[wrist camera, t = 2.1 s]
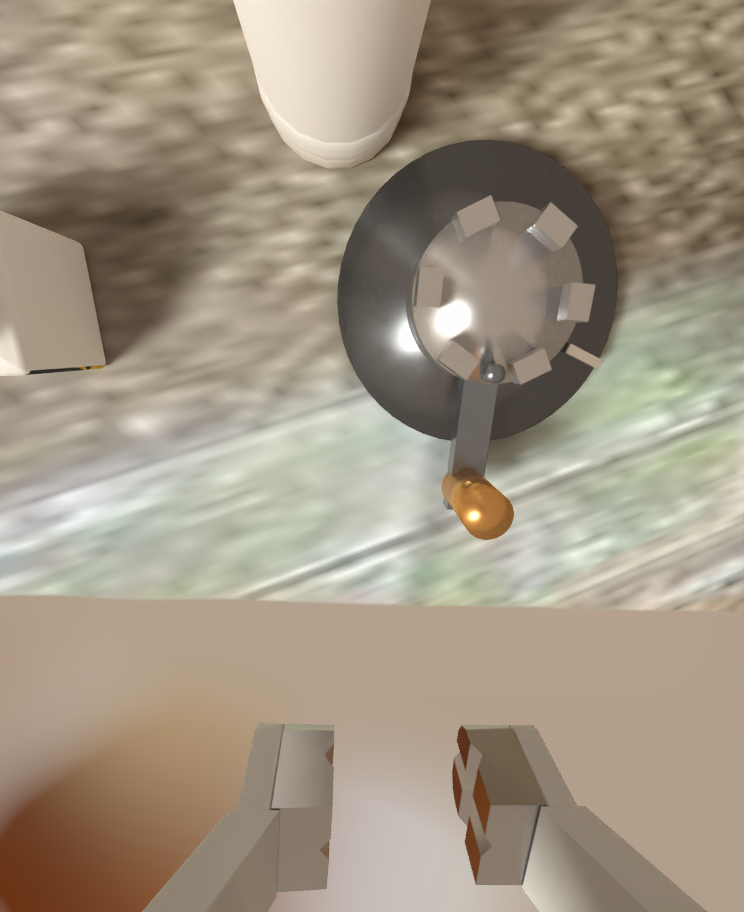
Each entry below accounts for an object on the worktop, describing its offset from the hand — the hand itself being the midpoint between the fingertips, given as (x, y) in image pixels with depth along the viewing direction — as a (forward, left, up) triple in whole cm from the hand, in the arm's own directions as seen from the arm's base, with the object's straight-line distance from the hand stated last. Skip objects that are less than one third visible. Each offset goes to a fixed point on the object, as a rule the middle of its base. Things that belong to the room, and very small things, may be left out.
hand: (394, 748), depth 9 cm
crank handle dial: (-2, +9, -19) cm, 22 cm away
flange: (-5, +12, -21) cm, 25 cm away
